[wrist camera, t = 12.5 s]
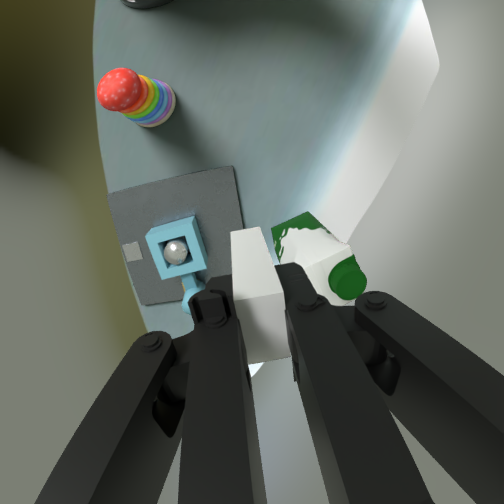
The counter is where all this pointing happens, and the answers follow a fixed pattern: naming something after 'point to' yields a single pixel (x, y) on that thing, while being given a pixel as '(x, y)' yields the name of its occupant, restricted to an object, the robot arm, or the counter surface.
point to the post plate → (169, 210)
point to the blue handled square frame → (192, 262)
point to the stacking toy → (136, 97)
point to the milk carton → (320, 258)
